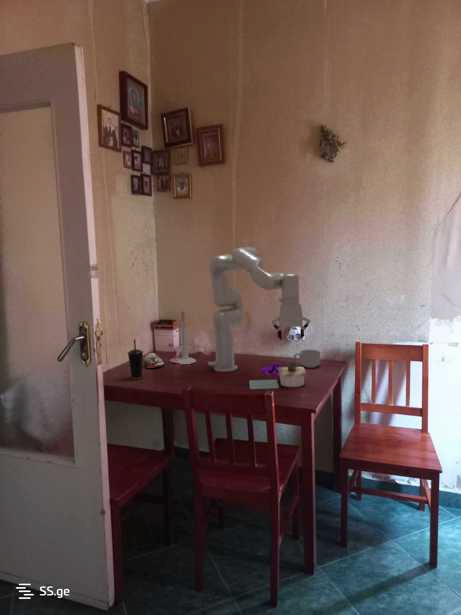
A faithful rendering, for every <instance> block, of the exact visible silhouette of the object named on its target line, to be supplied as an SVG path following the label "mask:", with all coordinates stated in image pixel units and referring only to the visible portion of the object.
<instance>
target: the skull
mask: <svg viewBox="0 0 461 615" xmlns="http://www.w3.org/2000/svg"><path fill="white" fill-rule="evenodd" d="M143 364H144V366H145V365H146V366H153V365H155V366H157V365H162V364H165V362H163V360H162V359H161V358H160V357H159V355H157V353H154V352H150V353H148V354H147V355H146V356H145V357H144V358H143ZM146 366H145V367H146Z"/></svg>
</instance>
